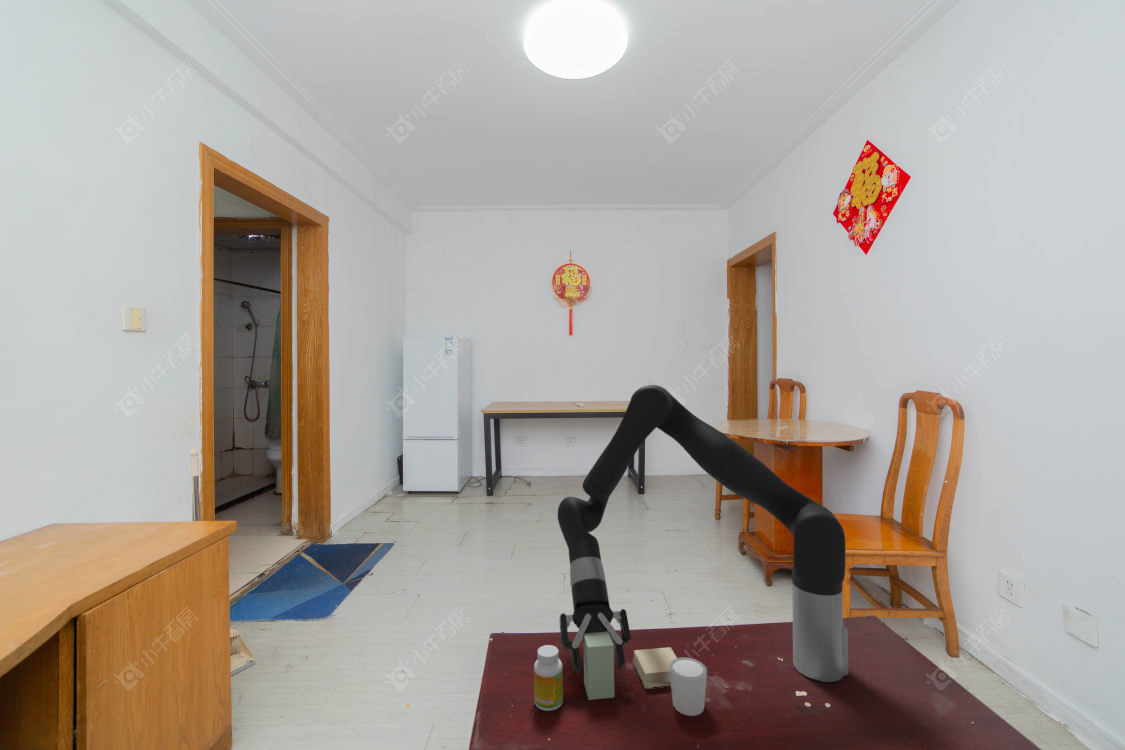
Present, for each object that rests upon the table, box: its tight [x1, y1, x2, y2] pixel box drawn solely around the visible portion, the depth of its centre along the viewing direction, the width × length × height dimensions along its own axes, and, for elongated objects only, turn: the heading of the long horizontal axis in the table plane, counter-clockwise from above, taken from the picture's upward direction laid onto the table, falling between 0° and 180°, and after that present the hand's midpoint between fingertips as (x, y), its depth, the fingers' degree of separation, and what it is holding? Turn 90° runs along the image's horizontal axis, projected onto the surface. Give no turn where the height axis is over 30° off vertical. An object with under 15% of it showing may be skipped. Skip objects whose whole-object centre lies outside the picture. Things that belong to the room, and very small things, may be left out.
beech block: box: [633, 646, 678, 690], centre depth 100 cm, size 8×8×3 cm
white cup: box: [669, 657, 708, 717], centre depth 90 cm, size 7×7×7 cm
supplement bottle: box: [533, 644, 564, 712], centre depth 92 cm, size 5×5×10 cm
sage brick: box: [582, 631, 615, 701], centre depth 95 cm, size 5×5×10 cm
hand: (599, 670), depth 94 cm, fingers open, 7 cm apart
